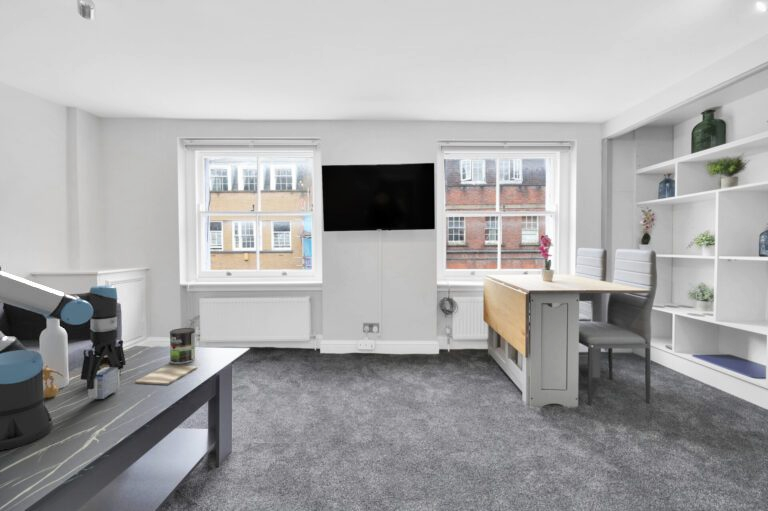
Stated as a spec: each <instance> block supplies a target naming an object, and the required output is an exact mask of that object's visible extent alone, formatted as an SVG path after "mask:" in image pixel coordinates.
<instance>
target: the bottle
mask: <svg viewBox="0 0 768 511" xmlns="http://www.w3.org/2000/svg"><path fill="white" fill-rule="evenodd" d="M45 319H46V318H45ZM60 321H61V320H59V319H55V318H52V319H46V327H45V329H43V330H42V331H41V333H40V335H39V340H38V341H39V353H40V354H41V356H42V360H43V369H44V368H45V367H46V366H49V368H50V369H51V370H55V371H58V372H59V373H61V374H62V375H63V377H62V376H61V375H59V374H58V373H55V372H51V373H50V376H51V375H52V376H53V378H54V381H53V383H52V385H54V386H56V387H57V388H58V390H60V389H63V388H65V387H67V386H69V384H70V383H69V382H70V376H69V351H68V350H69V347H68V346H69V345H68V344H69V343H68V333H67V331H66V329H65V328H63V327H62V326H60V325H61V324H60V323H61V322H60ZM43 376H44V375H43ZM51 381H52V380H50V379H49V378H48V380H47V385H48V386H51ZM45 382H46V381H44V379H43V391H44V390H45V388H46V385H45Z"/></svg>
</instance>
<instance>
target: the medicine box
mask: <svg viewBox="0 0 768 511" xmlns="http://www.w3.org/2000/svg"><path fill="white" fill-rule="evenodd" d="M91 376H92V375H91ZM95 379H97V396H98V397H97V398H90V399H91V400H93V399H94V400H104V399H105V398H107V397H108V396H110V395H112V394H113V393H114V392H116V391H118V389H119V387H118V367H105V368H103V369H101V370H99V371H97V374H96V377H95Z"/></svg>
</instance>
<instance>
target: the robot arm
mask: <svg viewBox="0 0 768 511" xmlns="http://www.w3.org/2000/svg"><path fill="white" fill-rule="evenodd" d="M0 302H1V303H3V304H7V305H10V306H13V307H17V308H19V309H20V308H21V309H24V310H26V311H31V312H33V313H37V314H40V315H42V316H43V317H44V319H52V318H55V319H59V320H60V321H62V322H64V323H66V324H68V325H73V326H74V325H75V326H76V325H82V324H85V323H87V322H88V321H89V320H90V328H89V329H90V330H91V331H90V342H91V343H92V346H91V348H89V349H84V350H83V351H82V352H83V362H82V368H81V374H80V380H82V381H83V380H84V381H86V389H87V390H88V391H87V392H88V394H87V395H88V397H87V398H88V399H89V398H90V399H91V398H97V397H98V396H97V379H95V377H96V374H97V371H98V368H99V366H100V363H101V360H102V359H103V358H104V356H106V355H107V356H108V358H109V360H110V362H111V364H112V366H113V367H118V388H120V387H121V386H120V385H121V384H120V383H121V382H120V379H121V378H120V377H121V375H122V374H121V373H122V372H121V371H122V370H123V369H124V366H125V365H126V358H125V353H124V346H123V345H124V341H123V340H122V339H121V340H120V339H118V329H117V327H118V290H117V287H116V286H115V285H114V286H113V285H96V286H91V287H90V289H89V292H85V293H84V292H83V293H70V294H69V293H64V292H62V291H59V290H56V289H53V288H50V287H48V286H45V285H42V284H39V283H36V282H34V281H30V280H27V279H25V278H23V277H19V276H16V275H13V274H10V273H8V272H5V271H1V270H0ZM97 356H100V357H97ZM91 375H92V376H91ZM43 391H44V390H43V360H42V356H41V354H40V352H38V351H36V350H30V349H27V348H26V347H25V345H23V343H21V341H20V340H19V339H18V338H17V337H15V336H11V335H10V336H9V335H8V336H7V335H5V334H4V333H3V332H2V331H1V330H0V450H1V451H6V450H5V449H7V450H10V449H15V448H18V447H21V446H25V445H27V444H29V443H32V442H34V441H38V440H39V439H41V438H43V437H45V436H46V435H48V434H49V433H50V432H51V431H52V430H53V427H54V425H53V418H52V417H51V414H50V412H49V411H48V409H47V406H46V405H45V400H44V398H45V396H44V392H43Z"/></svg>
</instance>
